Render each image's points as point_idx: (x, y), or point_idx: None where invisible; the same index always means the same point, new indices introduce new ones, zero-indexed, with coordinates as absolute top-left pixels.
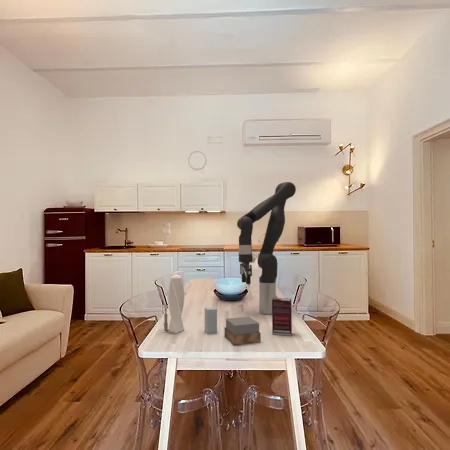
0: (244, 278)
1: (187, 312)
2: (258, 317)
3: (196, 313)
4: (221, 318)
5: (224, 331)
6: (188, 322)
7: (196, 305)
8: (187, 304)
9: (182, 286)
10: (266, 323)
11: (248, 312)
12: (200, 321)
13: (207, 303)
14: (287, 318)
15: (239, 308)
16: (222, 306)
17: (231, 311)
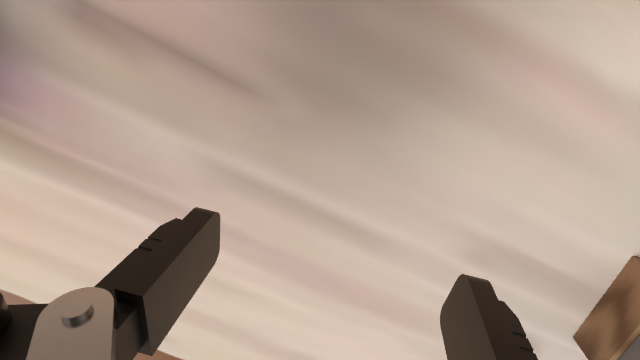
0: (184, 270)
1: (193, 314)
2: (428, 62)
3: (218, 296)
4: (339, 250)
5: (585, 355)
6: (333, 355)
7: (73, 248)
8: (52, 271)
9: None
10: (577, 88)
11: (285, 63)
12: (341, 325)
13: (29, 189)
14: None
15: (167, 69)
16: (103, 146)
17: (228, 151)
